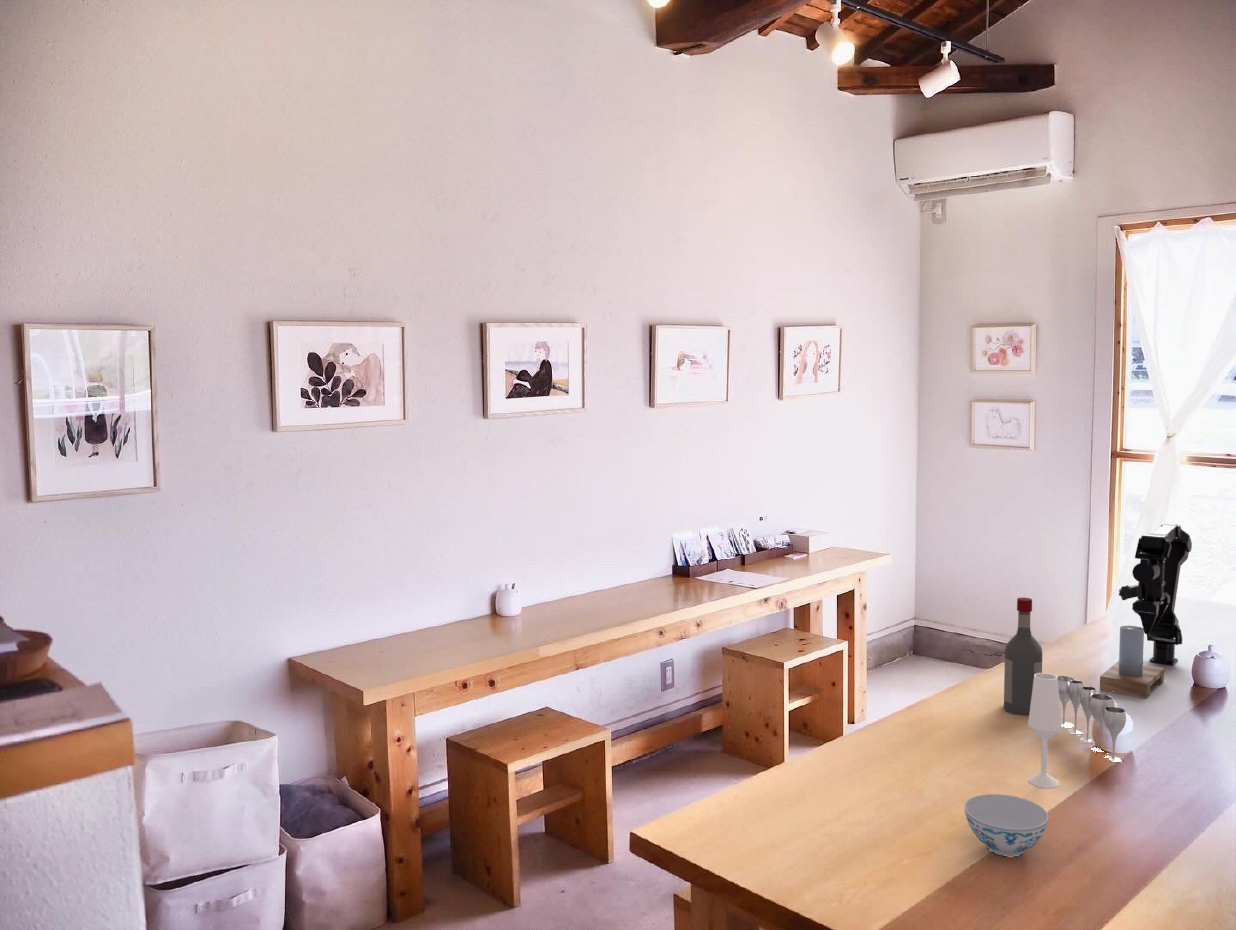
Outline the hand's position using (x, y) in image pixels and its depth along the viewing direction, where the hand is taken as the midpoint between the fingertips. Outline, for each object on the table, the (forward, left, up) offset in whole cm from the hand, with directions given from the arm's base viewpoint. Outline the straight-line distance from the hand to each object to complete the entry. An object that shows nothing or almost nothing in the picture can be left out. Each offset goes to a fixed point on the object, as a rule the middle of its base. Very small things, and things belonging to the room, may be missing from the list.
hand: (1150, 630), depth 297 cm
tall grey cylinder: (+16, -1, -9) cm, 18 cm away
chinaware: (+131, +7, -13) cm, 132 cm away
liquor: (+52, -18, -13) cm, 56 cm away
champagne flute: (+95, +2, -13) cm, 96 cm away
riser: (+14, -1, -13) cm, 19 cm away
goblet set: (+64, +2, -13) cm, 65 cm away
